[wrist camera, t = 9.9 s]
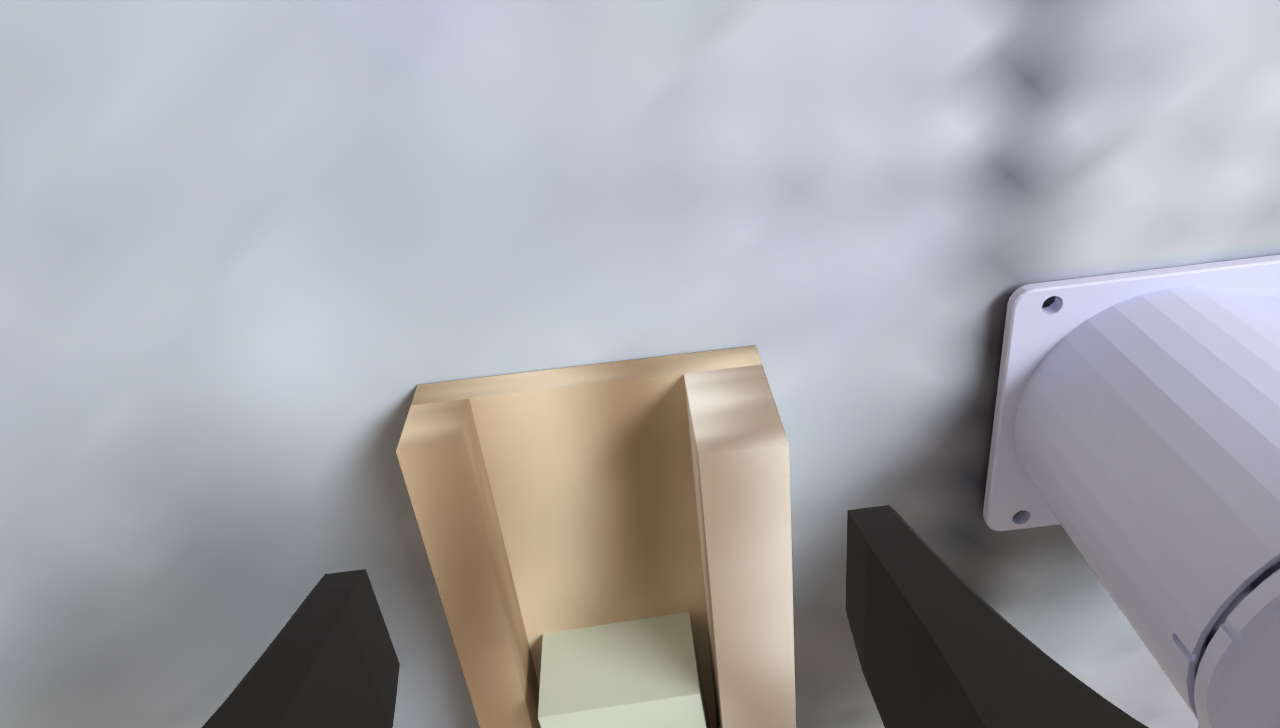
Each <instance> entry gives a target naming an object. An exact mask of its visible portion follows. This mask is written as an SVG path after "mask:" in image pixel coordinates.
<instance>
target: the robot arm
mask: <svg viewBox="0 0 1280 728" xmlns="http://www.w3.org/2000/svg"><path fill="white" fill-rule="evenodd" d="M1052 296H1056V298H1055V300H1054V302H1053V303H1052V304H1051V305H1050V306H1048V307H1045V308H1042V305H1043V303H1044V301H1045V300H1046V299H1048V298H1049V297H1052ZM1022 510H1023V512H1021V513H1020V514H1018V515H1015V516H1014V514H1016V513H1017V512H1019V511H1022ZM983 518H984V520H985V522H986V523H987V525H988V526H989V527H990V529H992V530H995V531H1008V530H1017V529H1026V528H1034V527H1043V526H1052V525H1061V526H1062V527H1063V528H1064V530H1065V531H1066V533H1067V534H1068V535H1069V537H1070V538H1071V540H1072V541H1073V543H1074V544H1075V545H1076V547H1077V548H1078V550H1079V551H1080V553H1081V554H1082V555H1083V557H1084V558H1085V560H1086V561H1087V563H1088V564H1089V565H1090V567H1091V568H1092V570H1093V571H1094V573H1095V574H1096V575H1097V577H1098V578H1099V580H1100V581H1101V583H1102V584H1103V585H1104V587H1105V588H1106V590H1107V591H1108V593H1109V594H1110V595H1111V597H1112V598H1113V600H1114V601H1115V603H1116V604H1117V605H1118V607H1119V608H1120V610H1121V611H1122V613H1123V614H1124V615H1125V617H1126V618H1127V620H1128V621H1129V622H1130V624H1131V625H1132V627H1133V628H1134V630H1135V631H1136V632H1137V634H1138V635H1139V637H1140V638H1141V640H1142V641H1143V642H1144V644H1145V645H1146V647H1147V648H1148V650H1149V651H1150V652H1151V654H1152V655H1153V657H1154V658H1155V660H1156V661H1157V662H1158V664H1159V665H1160V667H1161V668H1162V670H1163V671H1164V672H1165V674H1166V675H1167V677H1168V678H1169V680H1170V681H1171V682H1172V684H1173V685H1174V687H1175V688H1176V690H1177V691H1178V692H1179V694H1180V695H1181V697H1182V698H1183V699H1184V701H1185V702H1186V704H1187V705H1188V707H1189V708H1190V709H1191V711H1192V712H1193V714H1194V715H1195V717H1196V718H1197V719H1198V723H1199V727H1198V728H1280V255H1273V256H1264V257H1256V258H1247V259H1239V260H1230V261H1222V262H1213V263H1205V264H1196V265H1187V266H1179V267H1170V268H1162V269H1153V270H1145V271H1136V272H1128V273H1119V274H1111V275H1102V276H1094V277H1085V278H1077V279H1068V280H1060V281H1051V282H1043V283H1034V284H1028V285H1024V286H1021V287H1020V288H1018V289H1017V290H1015V291H1014V292H1013V294H1012V295H1011V296H1010V298H1009V301H1008V304H1007V313H1006V321H1005V330H1004V338H1003V347H1002V355H1001V364H1000V372H999V381H998V389H997V398H996V406H995V415H994V423H993V432H992V440H991V449H990V457H989V466H988V474H987V483H986V491H985V500H984V508H983ZM846 612H847V616H848V620H849V623H850V627H851V631H852V634H853V638H854V642H855V646H856V649H857V653H858V656H859V660H860V663H861V667H862V670H863V673H864V676H865V679H866V681H867V684H868V686H869V689H870V691H871V694H872V696H873V699H874V701H875V704H876V706H877V709H878V711H879V714H880V716H881V719H882V721H883V724H884V726H885V728H1148V727H1147V726H1145V725H1143V724H1142V723H1140V722H1139V721H1137V720H1135V719H1134V718H1132V717H1131V716H1129V715H1128V714H1126V713H1125V712H1123V711H1122V710H1121V709H1119V708H1118V707H1116V706H1115V705H1113V704H1112V703H1110V702H1109V701H1107V700H1106V699H1105V698H1103V697H1102V696H1100V695H1099V694H1098V693H1096V692H1095V691H1094V690H1092V689H1091V688H1090V687H1088V686H1087V685H1085V684H1084V683H1083V682H1081V681H1080V680H1079V679H1077V678H1076V677H1075V676H1073V675H1072V674H1071V673H1069V672H1068V671H1067V670H1065V669H1064V668H1063V667H1062V666H1060V665H1059V664H1058V663H1056V662H1055V661H1054V660H1053V659H1051V658H1050V657H1049V656H1048V655H1046V654H1045V653H1044V652H1043V651H1041V650H1040V649H1039V648H1038V647H1037V646H1036V645H1034V644H1033V643H1032V642H1031V641H1030V640H1028V639H1027V638H1026V637H1025V636H1024V635H1022V634H1021V633H1020V632H1019V631H1018V630H1017V629H1015V628H1014V627H1013V626H1012V625H1011V624H1010V623H1008V622H1007V621H1006V620H1005V619H1004V618H1003V617H1002V616H1001V615H999V614H998V613H997V612H996V611H995V610H994V609H993V608H992V607H991V606H990V605H989V604H987V603H986V602H985V601H984V600H983V599H982V598H981V597H980V596H979V595H978V594H977V593H976V592H975V591H974V590H972V589H971V588H970V587H969V586H968V585H967V584H966V583H965V582H964V581H963V580H962V579H961V578H960V577H959V576H958V575H957V574H956V573H955V572H954V571H953V570H952V569H951V568H950V567H949V566H948V565H947V564H946V563H945V562H944V561H943V560H942V559H941V558H940V557H939V556H938V555H937V554H936V553H935V552H934V551H933V550H932V549H931V548H930V547H929V546H928V545H927V544H926V543H925V542H924V541H923V540H922V539H921V538H920V537H919V536H918V535H917V533H916V532H915V531H914V530H913V529H912V528H911V527H910V526H909V525H908V524H907V523H906V522H905V521H904V520H903V518H902V517H901V516H900V515H899V514H898V513H897V512H896V511H895V510H894V509H893V508H891V507H890V506H889V505H888V506H879V507H871V508H863V509H855V510H848V519H847V572H846ZM398 674H399V661H398V658H397V656H396V653H395V650H394V647H393V645H392V642H391V639H390V636H389V633H388V631H387V628H386V625H385V622H384V619H383V617H382V614H381V611H380V608H379V605H378V603H377V600H376V597H375V594H374V591H373V589H372V586H371V583H370V580H369V577H368V575H367V572H366V569H364V570H356V571H348V572H340V573H332V574H325V575H324V576H323V578H322V579H321V580H320V581H319V582H318V584H317V585H316V586H315V587H314V589H313V590H312V591H311V592H310V594H309V595H308V596H307V598H306V599H305V600H304V602H303V603H302V604H301V605H300V607H299V608H298V609H297V611H296V612H295V613H294V615H293V616H292V617H291V618H290V620H289V621H288V622H287V624H286V625H285V626H284V628H283V629H282V630H281V631H280V633H279V634H278V635H277V637H276V638H275V639H274V640H273V642H272V643H271V644H270V646H269V647H268V648H267V650H266V651H265V652H264V653H263V655H262V656H261V657H260V658H259V660H258V661H257V662H256V663H255V665H254V666H253V667H252V668H251V670H250V671H249V672H248V673H247V674H246V676H245V677H244V678H243V679H242V681H241V682H240V683H239V684H238V686H237V687H236V688H235V689H234V691H233V692H232V693H231V694H230V696H229V697H228V698H227V699H226V700H225V701H224V703H223V704H222V705H221V706H220V707H219V708H218V710H217V711H216V712H215V713H214V714H213V715H212V716H211V718H210V719H209V720H208V721H207V722H206V723H205V725H204V726H203V727H202V728H392V727H393V719H394V711H395V703H396V694H397V684H398Z"/></svg>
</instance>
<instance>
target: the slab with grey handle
mask: <svg viewBox="0 0 1280 728" xmlns="http://www.w3.org/2000/svg"><path fill="white" fill-rule="evenodd" d="M538 720H539V723H540V726H541V728H710V723H709V717H708V712H707V706H706V701H705V696H704V690H703V685H702V679H701V674H700V668H699V663H698V657H697V652H696V646H695V641H694V635H693V630H692V624H691V619H690V614H689V612H684V613H677V614H671V615H664V616H658V617H651V618H645V619H638V620H632V621H625V622H618V623H612V624H605V625H599V626H592V627H586V628H579V629H573V630H566V631H559V632H553V633H546V634H543V639H542V656H541V673H540V690H539V706H538Z"/></svg>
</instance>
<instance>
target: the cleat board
mask: <svg viewBox="0 0 1280 728" xmlns="http://www.w3.org/2000/svg"><path fill="white" fill-rule="evenodd" d="M396 454H397V457H398V460H399V464H400V467H401V470H402V473H403V477H404V480H405V483H406V487H407V490H408V493H409V496H410V500H411V503H412V506H413V510H414V513H415V516H416V519H417V523H418V526H419V529H420V533H421V536H422V539H423V543H424V546H425V549H426V552H427V556H428V559H429V562H430V566H431V569H432V572H433V575H434V579H435V582H436V585H437V589H438V592H439V595H440V598H441V602H442V605H443V608H444V612H445V615H446V618H447V621H448V625H449V628H450V631H451V635H452V638H453V641H454V645H455V648H456V651H457V654H458V658H459V661H460V664H461V668H462V671H463V674H464V677H465V681H466V684H467V687H468V691H469V694H470V697H471V700H472V704H473V707H474V710H475V714H476V717H477V720H478V723H479V727H480V728H541V726H540V723H539V720H538V706H539V690H540V673H541V656H542V639H543V634H546V633H553V632H559V631H566V630H573V629H579V628H586V627H592V626H599V625H605V624H612V623H618V622H625V621H632V620H638V619H645V618H651V617H658V616H664V615H671V614H677V613H684V612H689V614H690V619H691V624H692V630H693V635H694V641H695V646H696V652H697V657H698V663H699V668H700V674H701V679H702V685H703V690H704V696H705V701H706V706H707V712H708V717H709V723H710V728H796V703H795V663H794V623H793V583H792V543H791V502H790V462H789V443H788V440H787V437H786V434H785V431H784V428H783V425H782V422H781V419H780V416H779V413H778V410H777V407H776V404H775V401H774V398H773V395H772V392H771V390H770V387H769V384H768V381H767V378H766V375H765V372H764V369H763V366H762V363H761V360H760V357H759V354H758V351H757V348H756V345H755V346H746V347H738V348H729V349H721V350H712V351H704V352H695V353H687V354H678V355H670V356H661V357H652V358H644V359H635V360H627V361H618V362H610V363H601V364H593V365H584V366H576V367H567V368H558V369H550V370H541V371H533V372H524V373H516V374H507V375H499V376H490V377H482V378H473V379H464V380H456V381H447V382H439V383H430V384H422V385H417V388H416V391H415V394H414V397H413V400H412V403H411V406H410V409H409V413H408V416H407V419H406V422H405V425H404V428H403V431H402V434H401V437H400V440H399V444H398V447H397V450H396Z"/></svg>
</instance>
